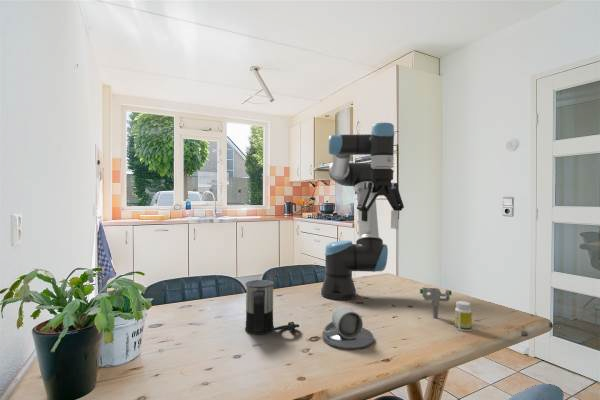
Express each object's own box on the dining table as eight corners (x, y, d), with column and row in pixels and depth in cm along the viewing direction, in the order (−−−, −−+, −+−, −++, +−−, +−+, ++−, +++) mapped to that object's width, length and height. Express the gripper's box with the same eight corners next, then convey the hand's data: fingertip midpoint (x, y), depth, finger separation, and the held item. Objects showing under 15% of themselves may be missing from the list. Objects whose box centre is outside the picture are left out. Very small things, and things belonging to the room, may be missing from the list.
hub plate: (312, 334, 98) (312, 330, 98) (350, 325, 106) (350, 321, 106) (343, 354, 85) (343, 350, 85) (384, 342, 93) (384, 338, 93)
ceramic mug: (352, 327, 100) (352, 302, 100) (363, 337, 92) (363, 311, 93) (320, 330, 98) (319, 305, 98) (328, 341, 90) (328, 314, 90)
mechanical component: (452, 320, 110) (452, 291, 111) (420, 317, 113) (420, 289, 113) (449, 317, 113) (449, 288, 113) (419, 314, 115) (419, 287, 116)
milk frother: (242, 325, 105) (242, 280, 105) (287, 319, 111) (287, 276, 111) (252, 344, 92) (253, 292, 92) (303, 335, 98) (303, 286, 98)
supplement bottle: (474, 329, 102) (474, 303, 102) (466, 333, 100) (466, 306, 100) (460, 324, 106) (460, 299, 106) (451, 327, 104) (451, 301, 104)
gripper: (362, 166, 101) (361, 233, 102) (414, 169, 114) (413, 228, 115) (346, 167, 107) (345, 230, 108) (398, 170, 120) (397, 226, 121)
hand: (380, 229), depth 111 cm, fingers open, 13 cm apart
